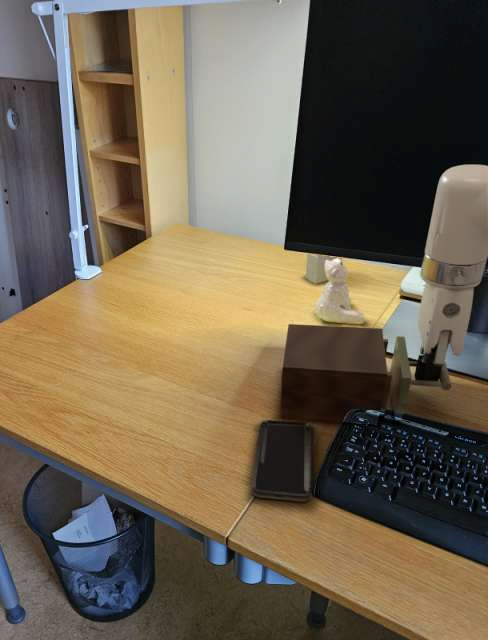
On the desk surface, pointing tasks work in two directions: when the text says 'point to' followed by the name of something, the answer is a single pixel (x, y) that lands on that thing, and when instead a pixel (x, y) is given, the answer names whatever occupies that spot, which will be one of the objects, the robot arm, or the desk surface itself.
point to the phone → (284, 461)
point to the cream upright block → (317, 267)
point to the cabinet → (332, 372)
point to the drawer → (406, 377)
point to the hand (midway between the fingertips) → (425, 380)
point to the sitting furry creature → (337, 296)
